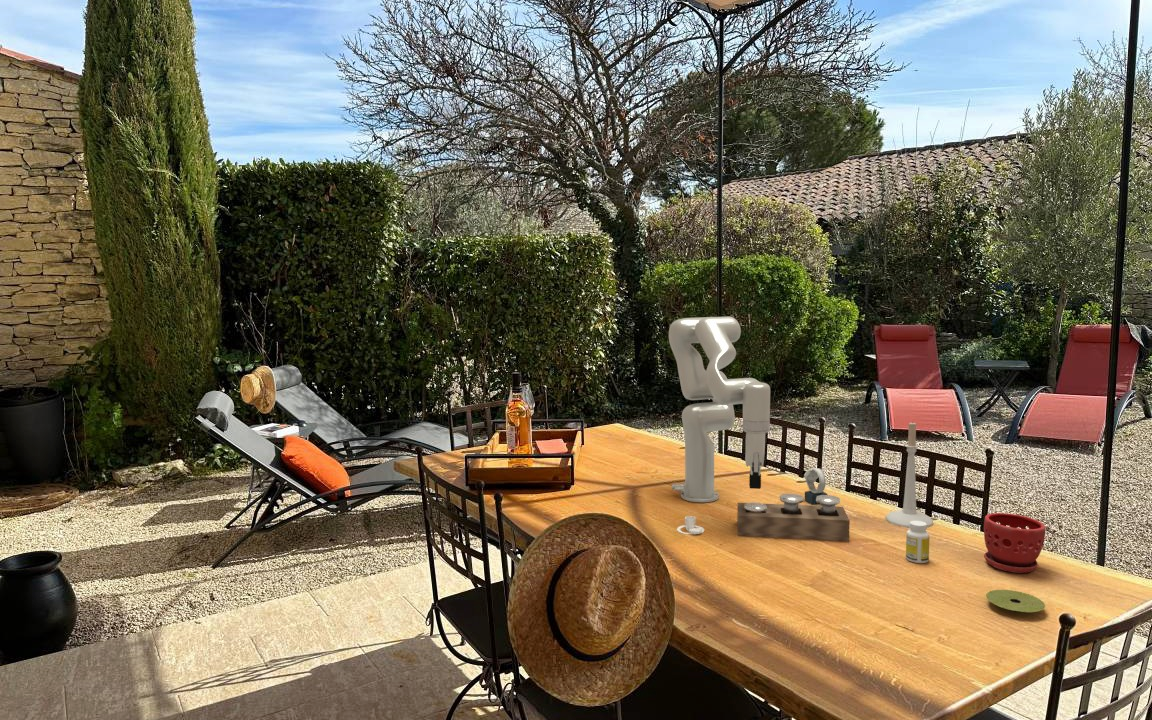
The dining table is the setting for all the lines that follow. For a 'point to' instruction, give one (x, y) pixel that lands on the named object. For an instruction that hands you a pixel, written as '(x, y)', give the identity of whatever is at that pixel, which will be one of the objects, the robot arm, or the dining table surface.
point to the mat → (1015, 600)
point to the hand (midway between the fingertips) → (755, 487)
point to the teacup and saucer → (691, 526)
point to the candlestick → (909, 489)
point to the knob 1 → (755, 507)
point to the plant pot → (1013, 542)
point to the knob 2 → (827, 504)
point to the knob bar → (794, 523)
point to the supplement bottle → (917, 542)
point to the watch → (810, 479)
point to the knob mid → (791, 503)
